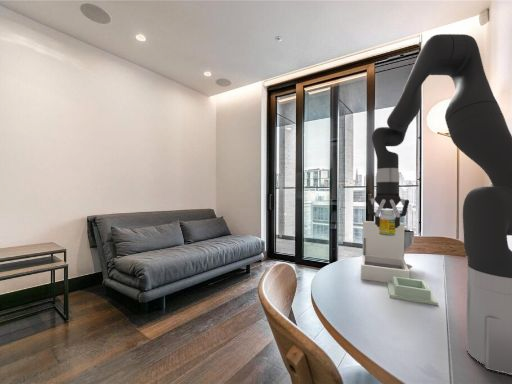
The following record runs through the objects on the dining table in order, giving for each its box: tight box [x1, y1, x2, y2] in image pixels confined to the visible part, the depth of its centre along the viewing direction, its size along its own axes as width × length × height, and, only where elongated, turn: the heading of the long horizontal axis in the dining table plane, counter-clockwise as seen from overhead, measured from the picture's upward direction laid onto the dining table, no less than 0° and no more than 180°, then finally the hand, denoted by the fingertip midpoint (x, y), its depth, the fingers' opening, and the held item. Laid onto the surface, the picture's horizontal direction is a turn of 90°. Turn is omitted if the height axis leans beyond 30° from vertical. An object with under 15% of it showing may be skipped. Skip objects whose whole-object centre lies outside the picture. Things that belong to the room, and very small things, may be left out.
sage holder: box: [387, 276, 439, 306], centre depth 78 cm, size 12×12×3 cm
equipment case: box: [360, 220, 410, 284], centre depth 95 cm, size 17×15×19 cm
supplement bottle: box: [379, 209, 396, 237], centre depth 91 cm, size 5×5×10 cm
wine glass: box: [404, 228, 415, 269], centre depth 106 cm, size 8×8×15 cm
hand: (387, 226), depth 91 cm, fingers closed on supplement bottle, 5 cm apart
